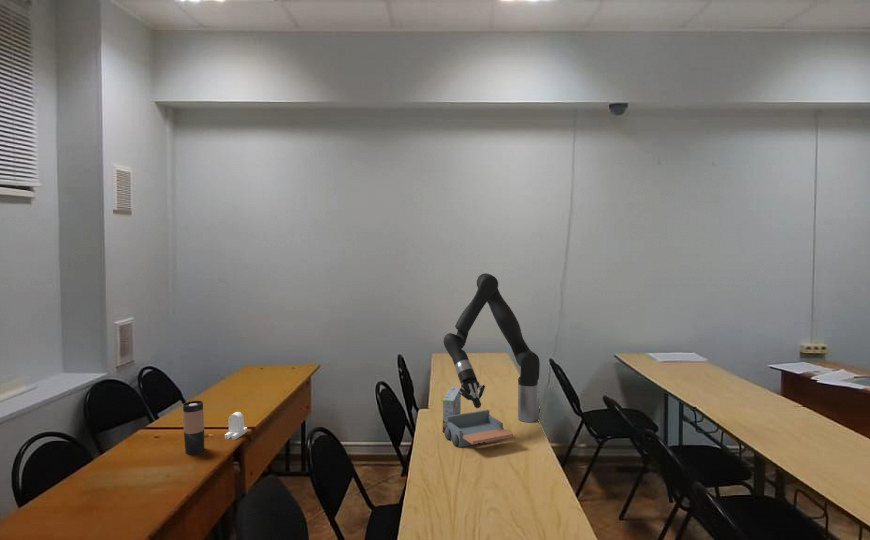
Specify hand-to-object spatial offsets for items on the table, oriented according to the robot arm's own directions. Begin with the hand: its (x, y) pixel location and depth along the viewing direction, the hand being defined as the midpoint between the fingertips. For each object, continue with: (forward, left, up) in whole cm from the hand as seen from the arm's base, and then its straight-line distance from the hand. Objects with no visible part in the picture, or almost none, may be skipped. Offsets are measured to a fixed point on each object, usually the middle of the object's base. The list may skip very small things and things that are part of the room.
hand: (478, 407), depth 221 cm
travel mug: (+112, -40, -15) cm, 120 cm away
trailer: (0, -4, -15) cm, 15 cm away
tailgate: (0, +4, -10) cm, 11 cm away
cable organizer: (+96, -51, -15) cm, 109 cm away
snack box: (+2, -22, -15) cm, 27 cm away
